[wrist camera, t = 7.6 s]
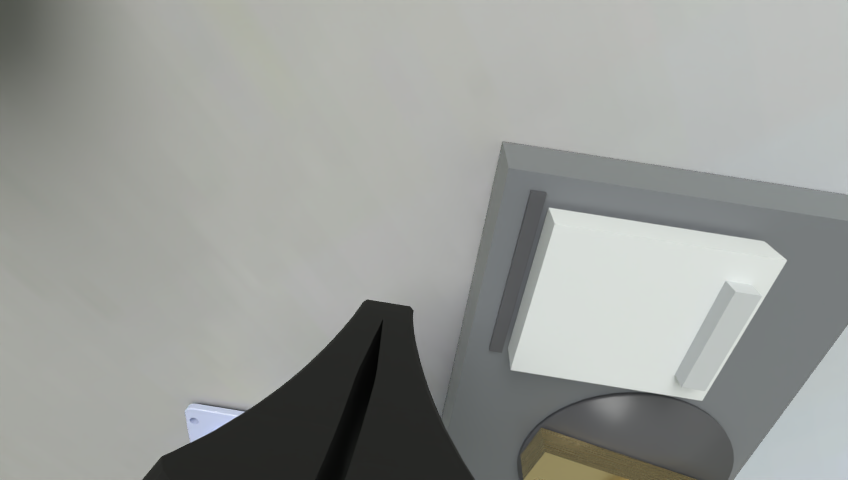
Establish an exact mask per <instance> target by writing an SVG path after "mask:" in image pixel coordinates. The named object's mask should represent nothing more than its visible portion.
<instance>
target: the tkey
mask: <svg viewBox="0 0 848 480" xmlns="http://www.w3.org/2000/svg"><path fill="white" fill-rule="evenodd" d="M520 456H521V465H522V474H523V480H697V479H694V478H691V477H688V476H685V475H682V474H679V473H676V472H673V471H670V470H667V469H664V468H661V467H658V466H655V465H652V464H649V463H646V462H643V461H640V460H637V459H634V458H631V457H628V456H625V455H622V454H619V453H616V452H613V451H610V450H607V449H604V448H601V447H598V446H595V445H592V444H589V443H586V442H583V441H580V440H577V439H574V438H571V437H568V436H565V435H562V434H559V433H556V432H553V431H550V430H547V429H544V428H540V430H539V431H538V432H537V434H536V435H535V436H534V438H533V439H532V440H531V442H530V443H529V444H528V446H527V447H526V448H525V450H524V451H523V452H522V454H521V455H520Z"/></svg>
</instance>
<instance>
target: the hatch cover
mask: <svg viewBox="0 0 848 480" xmlns="http://www.w3.org/2000/svg"><path fill="white" fill-rule="evenodd" d="M786 262H787V260H786V259H785V258H784V257H783V256H782V255H780V254H779V253H778V252H777V251H776V250H774V249H773V248H772V247H771V246H770V245H768V244H767V243H766V242H765V241H760V240H753V239H747V238H741V237H734V236H728V235H721V234H715V233H709V232H702V231H696V230H689V229H683V228H677V227H670V226H664V225H658V224H651V223H645V222H638V221H632V220H626V219H619V218H613V217H606V216H600V215H594V214H587V213H581V212H574V211H568V210H562V209H555V208H548V211H547V215H546V218H545V222H544V225H543V229H542V232H541V236H540V239H539V242H538V246H537V249H536V253H535V256H534V260H533V263H532V267H531V270H530V273H529V277H528V280H527V284H526V287H525V291H524V294H523V298H522V301H521V304H520V308H519V311H518V315H517V318H516V322H515V325H514V329H513V332H512V335H511V339H510V342H509V346H508V352H509V361H510V370H513V371H520V372H526V373H532V374H538V375H544V376H551V377H557V378H563V379H569V380H576V381H582V382H588V383H594V384H600V385H607V386H613V387H619V388H625V389H631V390H638V391H644V392H650V393H656V394H663V395H669V396H675V397H681V398H687V399H694V400H700V401H703V399H704V397H705V396H706V394H707V392H708V391H709V389H710V387H711V386H712V384H713V382H714V381H715V379H716V377H717V376H718V374H719V372H720V371H721V369H722V367H723V366H724V364H725V362H726V361H727V359H728V358H729V356H730V354H731V353H732V351H733V349H734V348H735V346H736V344H737V343H738V341H739V339H740V338H741V336H742V334H743V333H744V331H745V329H746V328H747V326H748V324H749V323H750V321H751V319H752V318H753V316H754V315H755V313H756V311H757V310H758V308H759V306H760V305H761V303H762V301H763V300H764V298H765V296H766V295H767V293H768V291H769V290H770V288H771V286H772V285H773V283H774V281H775V280H776V278H777V276H778V275H779V273H780V271H781V270H782V268H783V267H784V265H785V263H786Z"/></svg>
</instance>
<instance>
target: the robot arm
mask: <svg viewBox="0 0 848 480" xmlns="http://www.w3.org/2000/svg"><path fill="white" fill-rule="evenodd" d="M185 416H186V422H187V428H188V433H189V439H190V443H189V444H187V445H185V446H183V447H181V448H179V449H177V450H175V451H173V452H171V453H168V454H166V455H164V456H162V457H161V458H160V459H159V460H158V462H157V463H156V464H155V465H154V466H153V468H152V469H151V470H150V471H149V472H148V473H147V475H146V476H145V477H144V478H143V480H475V479H474V477H473V476H472V474H471V472H470V471H469V469H468V468H467V466H466V464H465V463H464V461H463V459H462V458H461V456H460V454H459V452H458V450H457V449H456V447H455V445H454V443H453V441H452V439H451V438H450V436H449V434H448V432H447V430H446V428H445V426H444V424H443V422H442V420H441V417H440V415H439V413H438V411H437V408H436V406H435V404H434V401H433V399H432V396H431V393H430V391H429V388H428V385H427V382H426V379H425V376H424V373H423V369H422V366H421V362H420V358H419V354H418V350H417V346H416V341H415V335H414V327H413V309H412V308H411V307H410V306H404V305H397V304H391V303H385V302H379V301H372V300H366V301H364V302H363V303H362V304H361V306H360V307H359V309H358V310H357V312H356V313H355V314H354V316H353V317H352V318H351V319H350V321H349V322H348V323H347V324H346V325H345V327H344V328H343V329H342V330H341V331H340V332H339V333H338V334H337V335H336V337H335V338H334V339H333V340H332V341H331V342H330V343H329V344H328V345H327V346H326V347H325V348H324V349H323V350H322V351H321V352H320V353H319V354H318V355H317V356H316V357H315V358H314V359H313V360H312V361H311V362H310V363H309V364H308V365H306V366H305V367H304V368H303V369H302V370H301V371H300V372H299V373H297V374H296V375H295V376H294V377H293V378H291V379H290V380H289V381H288V382H286V383H285V384H284V385H283V386H281V387H280V388H279V389H277V390H276V391H275V392H273V393H272V394H270V395H269V396H268V397H266V398H265V399H264V400H262V401H261V402H259V403H258V404H256V405H255V406H253V407H252V408H250V409H249V410H247V411H246V412H245V411H238V410H232V409H226V408H220V407H214V406H208V405H202V404H190V405H189V406H188V407H187V409H186V410H185Z"/></svg>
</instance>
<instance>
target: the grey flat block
mask: <svg viewBox="0 0 848 480" xmlns="http://www.w3.org/2000/svg"><path fill="white" fill-rule="evenodd" d="M548 208H555V209H562V210H568V211H574V212H581V213H587V214H594V215H600V216H606V217H613V218H619V219H626V220H632V221H638V222H645V223H651V224H658V225H664V226H670V227H677V228H683V229H689V230H696V231H702V232H709V233H715V234H721V235H728V236H734V237H741V238H747V239H753V240H760V241H765V242H766V243H767V244H768V245H770V246H771V247H772V248H773V249H774V250H776V251H777V252H778V253H779V254H780V255H782V256H783V257H784V258H785V259H786V260H787V262H786V263H785V265H784V267H783V268H782V270H781V271H780V273H779V275H778V276H777V278H776V280H775V281H774V283H773V285H772V286H771V288H770V290H769V291H768V293H767V295H766V296H765V298H764V300H763V301H762V303H761V305H760V306H759V308H758V310H757V311H756V313H755V315H754V316H753V318H752V319H751V321H750V323H749V324H748V326H747V328H746V329H745V331H744V333H743V334H742V336H741V338H740V339H739V341H738V343H737V344H736V346H735V348H734V349H733V351H732V353H731V354H730V356H729V358H728V359H727V361H726V362H725V364H724V366H723V367H722V369H721V371H720V372H719V374H718V376H717V377H716V379H715V381H714V382H713V384H712V386H711V387H710V389H709V391H708V392H707V394H706V396H705V397H704V399H703V401H700V400H694V399H687V398H681V397H675V396H669V395H663V394H656V393H650V392H644V391H638V390H631V389H625V388H619V387H613V386H607V385H600V384H594V383H588V382H582V381H576V380H569V379H563V378H557V377H551V376H544V375H538V374H532V373H526V372H520V371H513V370H510V361H509V352H508V346H509V342H510V339H511V335H512V332H513V329H514V325H515V322H516V318H517V315H518V311H519V308H520V304H521V301H522V298H523V294H524V291H525V287H526V284H527V280H528V277H529V273H530V270H531V267H532V263H533V260H534V256H535V253H536V249H537V246H538V242H539V239H540V236H541V232H542V229H543V225H544V222H545V218H546V215H547V211H548ZM847 325H848V195H845V194H839V193H832V192H826V191H819V190H813V189H806V188H800V187H793V186H787V185H781V184H774V183H768V182H761V181H755V180H748V179H742V178H735V177H729V176H722V175H716V174H710V173H703V172H697V171H690V170H684V169H677V168H671V167H664V166H658V165H652V164H645V163H639V162H632V161H626V160H619V159H613V158H606V157H600V156H593V155H587V154H581V153H574V152H568V151H561V150H555V149H548V148H542V147H535V146H529V145H522V144H516V143H510V142H502V147H501V151H500V156H499V160H498V165H497V169H496V174H495V178H494V183H493V187H492V192H491V197H490V201H489V206H488V210H487V215H486V219H485V224H484V228H483V233H482V237H481V242H480V247H479V251H478V256H477V260H476V265H475V269H474V274H473V278H472V283H471V287H470V292H469V297H468V301H467V306H466V310H465V315H464V319H463V324H462V328H461V333H460V337H459V342H458V347H457V351H456V356H455V360H454V365H453V369H452V374H451V378H450V383H449V387H448V392H447V397H446V401H445V406H444V410H443V415H442V419H441V420H442V422H443V424H444V426H445V428H446V430H447V432H448V434H449V436H450V438H451V439H452V441H453V443H454V445H455V447H456V449H457V450H458V452H459V454H460V456H461V458H462V459H463V461H464V463H465V464H466V466H467V468H468V469H469V471H470V472H471V474H472V476H473V477H474V479H475V480H523V474H522V465H521V456H520V455H521V454H522V452H523V451H524V450H525V448H526V447H527V446H528V444H529V443H530V442H531V440H532V439H533V438H534V436H535V435H536V434H537V432H538V431H539V430H540V428H544V429H547V430H550V431H553V432H556V433H559V434H562V435H565V436H568V437H571V438H574V439H577V440H580V441H583V442H586V443H589V444H592V445H595V446H598V447H601V448H604V449H607V450H610V451H613V452H616V453H619V454H622V455H625V456H628V457H631V458H634V459H637V460H640V461H643V462H646V463H649V464H652V465H655V466H658V467H661V468H664V469H667V470H670V471H673V472H676V473H679V474H682V475H685V476H688V477H691V478H694V479H697V480H734V478H735V477H736V476H737V474H738V473H739V471H740V470H741V469H742V467H743V466H744V465H745V463H746V462H747V461H748V459H749V458H750V457H751V455H752V454H753V452H754V451H755V450H756V448H757V447H758V446H759V444H760V443H761V442H762V440H763V439H764V438H765V436H766V435H767V434H768V432H769V431H770V429H771V428H772V427H773V425H774V424H775V423H776V421H777V420H778V419H779V417H780V416H781V415H782V413H783V412H784V410H785V409H786V408H787V406H788V405H789V404H790V402H791V401H792V400H793V398H794V397H795V396H796V394H797V393H798V392H799V390H800V389H801V387H802V386H803V385H804V383H805V382H806V381H807V379H808V378H809V377H810V375H811V374H812V373H813V371H814V370H815V368H816V367H817V366H818V364H819V363H820V362H821V360H822V359H823V358H824V356H825V355H826V354H827V352H828V351H829V350H830V348H831V347H832V345H833V344H834V343H835V341H836V340H837V339H838V337H839V336H840V335H841V333H842V332H843V331H844V329H845V328H846V326H847Z"/></svg>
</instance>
